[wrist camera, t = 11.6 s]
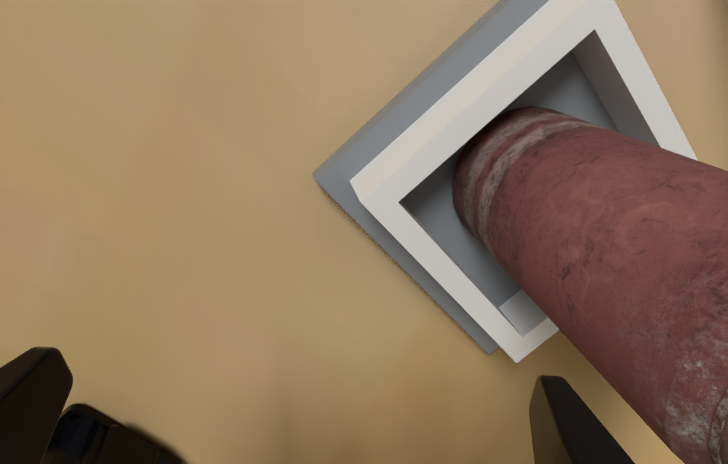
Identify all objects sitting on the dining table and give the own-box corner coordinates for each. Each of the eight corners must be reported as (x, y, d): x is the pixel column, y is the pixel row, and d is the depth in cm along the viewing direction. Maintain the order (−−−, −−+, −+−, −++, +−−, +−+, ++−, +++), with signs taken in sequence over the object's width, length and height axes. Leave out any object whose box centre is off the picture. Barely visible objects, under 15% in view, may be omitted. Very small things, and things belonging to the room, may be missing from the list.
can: (608, 166, 23) (1046, 368, 10) (502, 263, 24) (776, 556, 11) (533, 66, 20) (991, 168, 7) (418, 180, 21) (649, 435, 9)
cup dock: (481, 343, 27) (510, 387, 23) (312, 173, 21) (321, 202, 18) (686, 178, 25) (748, 203, 22) (558, -54, 19) (616, -66, 16)
